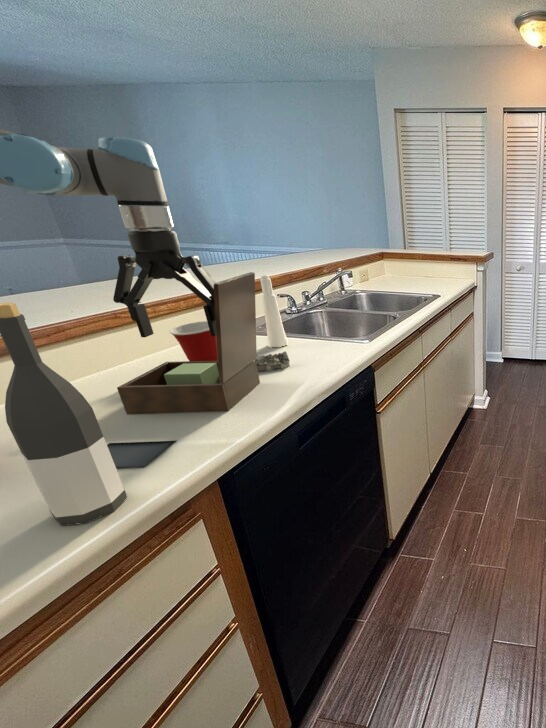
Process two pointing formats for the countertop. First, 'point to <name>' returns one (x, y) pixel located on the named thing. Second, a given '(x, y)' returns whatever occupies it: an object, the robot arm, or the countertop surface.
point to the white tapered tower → (272, 315)
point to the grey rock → (272, 361)
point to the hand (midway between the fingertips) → (182, 335)
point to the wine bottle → (57, 432)
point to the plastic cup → (196, 341)
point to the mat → (136, 453)
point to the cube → (193, 374)
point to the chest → (185, 392)
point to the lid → (235, 324)
